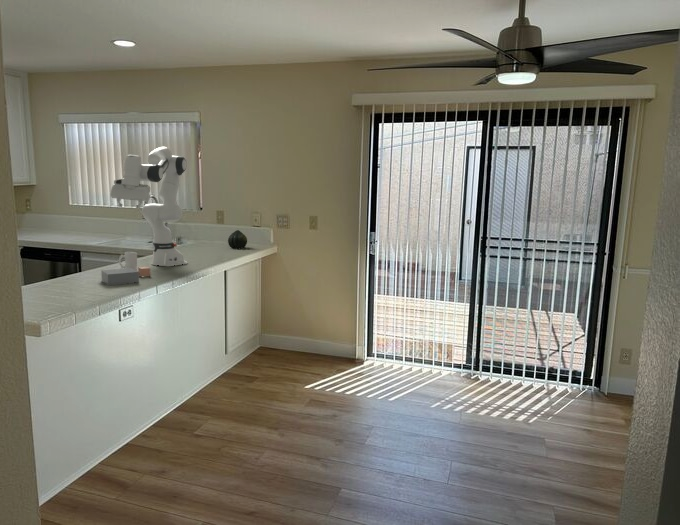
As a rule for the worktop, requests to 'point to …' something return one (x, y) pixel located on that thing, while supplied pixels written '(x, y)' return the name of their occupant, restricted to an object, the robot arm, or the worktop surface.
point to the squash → (237, 240)
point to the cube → (144, 271)
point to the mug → (129, 260)
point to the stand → (120, 276)
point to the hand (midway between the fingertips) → (129, 207)
